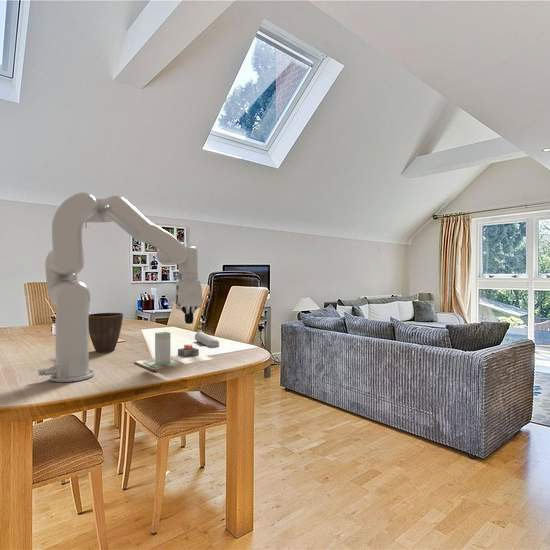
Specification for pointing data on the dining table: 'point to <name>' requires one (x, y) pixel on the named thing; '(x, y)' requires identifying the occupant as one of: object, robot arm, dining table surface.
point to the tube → (206, 339)
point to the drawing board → (174, 360)
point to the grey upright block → (162, 348)
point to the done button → (187, 347)
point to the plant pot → (105, 330)
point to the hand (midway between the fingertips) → (189, 323)
